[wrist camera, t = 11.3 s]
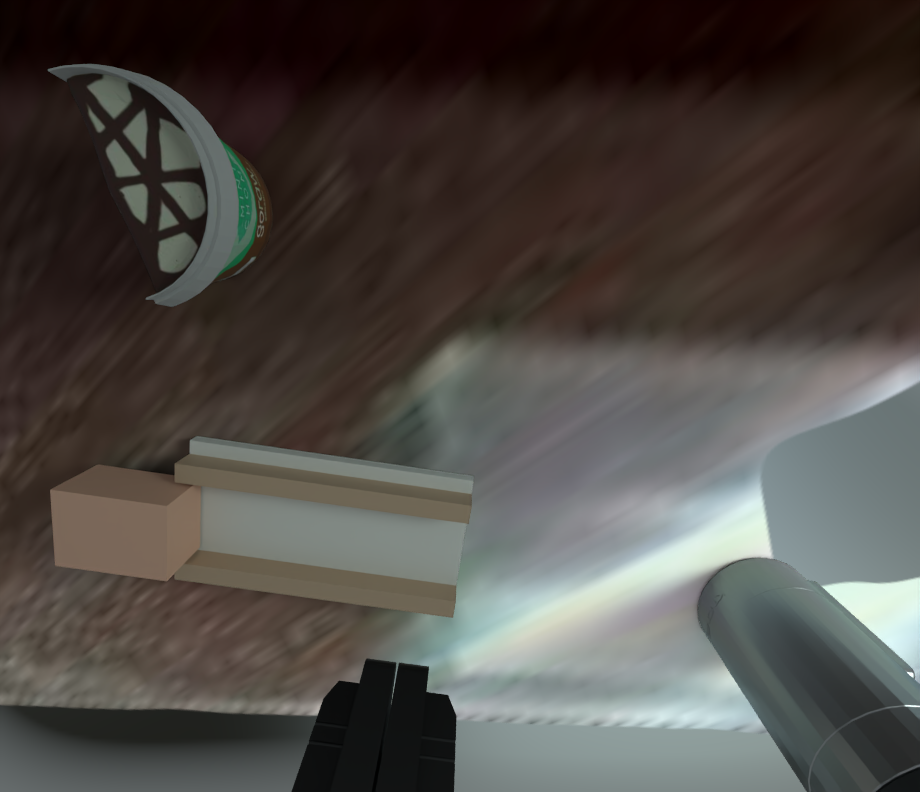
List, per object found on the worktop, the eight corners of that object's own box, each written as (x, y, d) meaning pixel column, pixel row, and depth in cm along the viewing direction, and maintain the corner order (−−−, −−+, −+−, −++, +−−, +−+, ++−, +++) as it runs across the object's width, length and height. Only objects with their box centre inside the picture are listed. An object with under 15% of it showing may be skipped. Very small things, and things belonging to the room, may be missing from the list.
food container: (314, 275, 36) (257, 277, 26) (235, 298, 36) (150, 309, 26) (251, 90, 33) (159, 15, 23) (166, 119, 33) (42, 57, 23)
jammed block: (201, 479, 38) (166, 506, 34) (200, 547, 40) (166, 581, 35) (98, 464, 38) (50, 489, 34) (100, 533, 40) (55, 565, 35)
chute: (473, 475, 39) (473, 492, 36) (452, 604, 42) (450, 629, 39) (196, 436, 39) (174, 449, 36) (195, 568, 42) (174, 591, 39)
